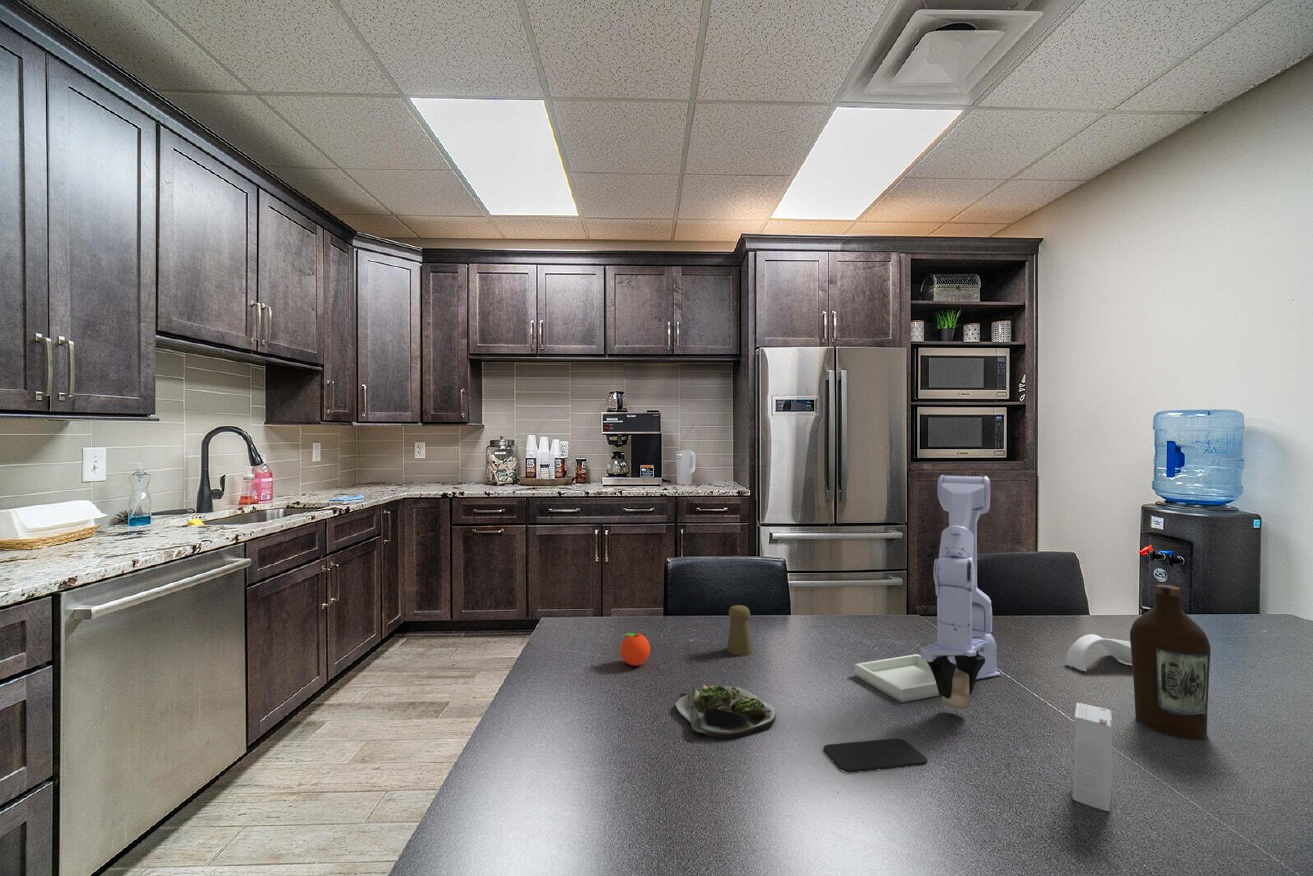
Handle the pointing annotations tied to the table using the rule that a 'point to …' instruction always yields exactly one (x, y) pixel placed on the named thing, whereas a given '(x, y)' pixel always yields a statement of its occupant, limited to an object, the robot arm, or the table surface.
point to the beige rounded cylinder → (958, 691)
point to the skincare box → (1092, 756)
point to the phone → (874, 755)
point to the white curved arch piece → (1083, 644)
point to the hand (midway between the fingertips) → (955, 694)
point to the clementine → (635, 649)
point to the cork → (739, 631)
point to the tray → (900, 677)
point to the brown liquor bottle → (1170, 668)
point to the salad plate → (725, 711)
